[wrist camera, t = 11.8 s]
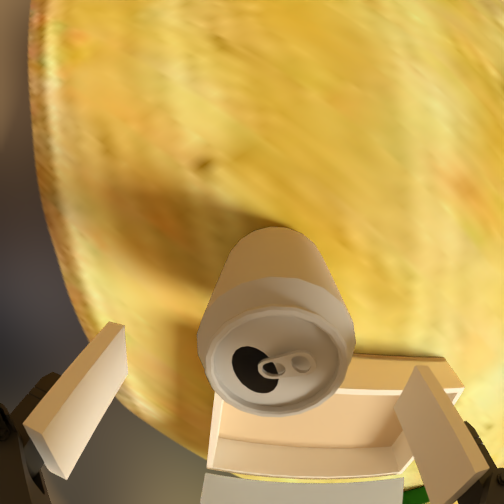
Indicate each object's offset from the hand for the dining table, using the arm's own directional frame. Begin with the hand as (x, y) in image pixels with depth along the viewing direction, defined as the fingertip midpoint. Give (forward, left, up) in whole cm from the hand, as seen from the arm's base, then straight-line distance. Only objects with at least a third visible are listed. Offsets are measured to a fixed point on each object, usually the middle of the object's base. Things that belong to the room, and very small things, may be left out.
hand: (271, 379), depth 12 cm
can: (0, 0, -12) cm, 12 cm away
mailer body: (+13, +8, -12) cm, 20 cm away
